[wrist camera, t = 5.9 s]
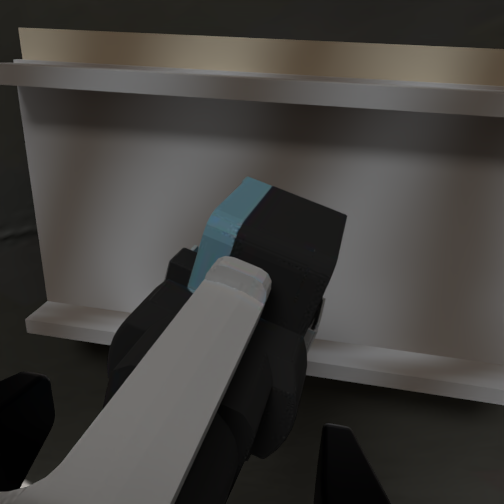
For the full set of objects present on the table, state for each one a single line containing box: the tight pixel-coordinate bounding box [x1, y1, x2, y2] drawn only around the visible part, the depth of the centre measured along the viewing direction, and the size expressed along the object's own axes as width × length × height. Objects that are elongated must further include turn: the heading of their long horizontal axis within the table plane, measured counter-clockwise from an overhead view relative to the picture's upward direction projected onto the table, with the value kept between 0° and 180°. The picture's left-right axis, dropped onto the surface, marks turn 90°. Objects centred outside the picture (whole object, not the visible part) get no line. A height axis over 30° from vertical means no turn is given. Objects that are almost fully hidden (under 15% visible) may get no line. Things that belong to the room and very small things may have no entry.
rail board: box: [0, 28, 504, 405], centre depth 16 cm, size 18×12×3 cm, turn 87°
